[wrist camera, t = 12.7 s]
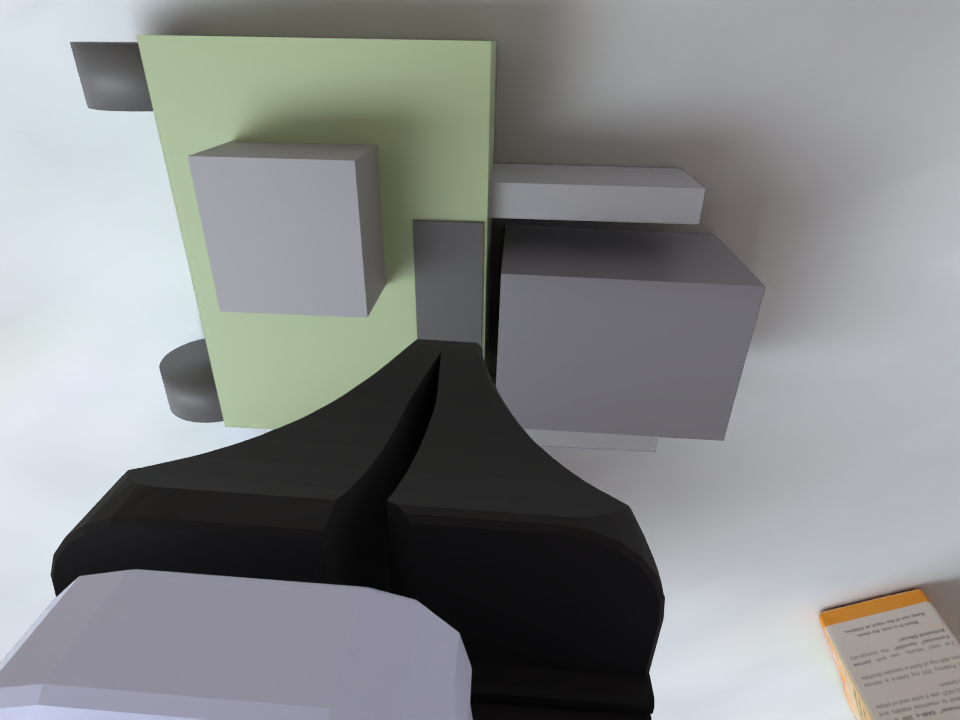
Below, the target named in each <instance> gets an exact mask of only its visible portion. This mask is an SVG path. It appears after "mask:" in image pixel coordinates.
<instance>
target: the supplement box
mask: <svg viewBox="0 0 960 720" xmlns="http://www.w3.org/2000/svg"><path fill="white" fill-rule="evenodd" d="M819 619H820V622H821V625H822V628H823V631H824V634H825V636H826V639H827V641H828V644H829V646H830V649H831V652H832V654H833V657H834V659H835V662H836V664H837V667H838V669H839V672H840V675H841V678H842V681H843V686H844V690H845V694H846V697H847V701H848V704H849V707H850V710H851V712H852V714H853V717H854V719H855V720H960V643H959V641H958V640H957V638H956V637H955V636H954V634H953V633H952V631H951V630H950V629H949V627H948V626H947V624H946V623H945V622H944V620H943V619H942V618H941V616H940V615H939V613H938V612H937V610H936V609H935V608H934V606H933V605H932V604H931V602H930V601H929V599H928V598H927V597H926V595H925V594H924V593H923V591H922V590H919V589H916V590H912V591H907V592H903V593H897V594H894V595H887V596H884V597H880V598H876V599H872V600H868V601H863V602H860V603H856V604H852V605H848V606H844V607H840V608H835V609H831V610H827V611H823V612H820V614H819Z"/></svg>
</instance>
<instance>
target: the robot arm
mask: <svg viewBox="0 0 960 720" xmlns="http://www.w3.org/2000/svg"><path fill="white" fill-rule="evenodd" d="M482 350H483V348H482V347H481V346H480V345H479V344H478V343H475V342H458V341H442V340H426V339H417V340H415V341H414V342H413V343H412V344H410V345H409V346H408V347H407V348H405V349H404V350H403V351H402V352H401V353H399V354H398V355H397V356H396V357H395V358H393V359H392V360H391V361H390V362H389V363H387V364H386V365H385V366H384V367H382V368H381V369H380V370H378V371H377V372H376V373H375V374H373V375H372V376H371V377H369V378H368V379H366V380H365V381H363V382H362V383H360V384H359V385H357V386H356V387H355V388H353V389H352V390H350V391H349V392H347V393H346V394H344V395H343V396H341V397H340V398H338V399H336V400H335V401H333V402H331V403H329V404H328V405H326V406H324V407H322V408H320V409H318V410H316V411H315V412H313V413H311V414H309V415H307V416H305V417H303V418H301V419H299V420H296V421H294V422H292V423H289V424H287V425H284V426H282V427H279V428H277V429H275V430H272V431H270V432H267V433H265V434H263V435H260V436H258V437H255V438H252V439H249V440H246V441H243V442H240V443H237V444H234V445H231V446H228V447H224V448H221V449H218V450H214V451H211V452H207V453H204V454H200V455H196V456H192V457H188V458H183V459H179V460H174V461H170V462H165V463H161V464H156V465H152V466H147V467H143V468H137V469H132V470H128V471H127V472H126V473H125V474H124V475H123V476H122V477H121V478H120V479H119V480H118V481H117V482H116V483H115V484H114V485H113V487H112V488H111V489H110V490H109V491H108V492H107V493H106V494H105V495H104V496H103V497H102V498H101V499H100V501H99V502H98V503H97V504H96V505H95V506H94V507H93V508H92V509H91V510H90V511H89V512H88V513H87V515H86V516H85V517H84V518H83V519H82V520H81V521H80V522H79V523H78V524H77V525H76V526H75V527H74V529H73V530H72V531H71V532H70V533H69V534H68V535H67V536H66V537H65V538H64V540H63V541H62V543H61V544H60V546H59V547H58V549H57V550H56V552H55V553H54V556H53V562H52V569H51V578H52V582H53V586H54V590H55V594H56V598H55V599H54V600H53V601H52V602H51V603H50V604H49V606H48V607H47V608H46V609H45V610H44V611H43V613H42V614H41V615H40V616H39V617H38V619H37V620H36V621H35V622H34V623H33V625H32V626H31V627H30V628H29V629H28V630H27V632H26V633H25V634H24V635H23V636H22V638H21V639H20V640H19V641H18V642H17V643H16V645H15V646H14V647H13V648H12V649H11V651H10V652H9V653H8V654H7V655H6V657H5V658H4V659H3V660H2V661H1V662H0V720H651V715H650V714H652V713H653V710H654V694H653V690H652V685H651V680H650V675H649V670H650V667H651V663H652V659H653V656H654V652H655V648H656V645H657V641H658V637H659V633H660V630H661V626H662V622H663V618H664V604H665V597H664V594H663V589H662V583H661V579H660V576H659V572H658V569H657V566H656V564H655V561H654V558H653V556H652V553H651V551H650V548H649V546H648V544H647V542H646V539H645V537H644V535H643V533H642V530H641V528H640V526H639V524H638V522H637V520H636V518H635V516H634V514H633V512H632V510H631V508H630V507H629V506H628V505H626V504H624V503H623V502H621V501H619V500H617V499H615V498H613V497H612V496H610V495H608V494H606V493H604V492H602V491H601V490H599V489H597V488H595V487H593V486H591V485H590V484H588V483H586V482H585V481H583V480H582V479H580V478H579V477H578V476H576V475H575V474H573V473H572V472H570V471H569V470H567V469H566V468H565V467H563V466H562V465H561V464H559V463H558V462H557V461H556V460H554V459H553V458H552V457H551V456H550V455H549V454H548V453H546V452H545V451H544V450H543V449H542V448H541V447H540V446H538V445H537V444H536V442H535V441H534V440H533V439H532V438H531V437H530V436H529V435H528V434H527V433H526V431H525V430H524V429H523V428H522V427H521V425H520V424H519V423H518V422H517V420H516V419H515V417H514V416H513V415H512V413H511V412H510V410H509V409H508V407H507V406H506V404H505V403H504V401H503V399H502V398H501V396H500V394H499V393H498V391H497V389H496V387H495V385H494V383H493V381H492V379H491V377H490V375H489V372H488V370H487V367H486V364H485V361H484V358H483V353H482Z"/></svg>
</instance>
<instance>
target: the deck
mask: <svg viewBox="0 0 960 720" xmlns="http://www.w3.org/2000/svg"><path fill="white" fill-rule="evenodd" d="M136 36H137V40H138V42H70V44H71V48H72V51H73V55H74V59H75V62H76V66H77V70H78V73H79V77H80V81H81V84H82V88H83V91H84V95H85V99H86V102H87V106H88V108H91V109H96V110H107V111H154V115H155V120H156V124H157V129H158V133H159V137H160V142H161V146H162V151H163V155H164V159H165V164H166V168H167V173H168V177H169V182H170V186H171V190H172V195H173V199H174V204H175V208H176V212H177V217H178V221H179V226H180V230H181V234H182V239H183V243H184V248H185V252H186V257H187V261H188V265H189V270H190V274H191V279H192V283H193V287H194V292H195V296H196V301H197V305H198V309H199V314H200V318H201V323H202V327H203V332H204V336H205V339H201V340H197V341H193V342H190V343H188V344H185V345H183V346H180V347H178V348H176V349H174V350H173V351H171V352H170V353H169V354H167V355H166V356H165V357H164V358H163V359H162V361H161V363H160V367H159V368H160V372H161V376H162V379H163V383H164V387H165V390H166V394H167V398H168V401H169V405H170V409H171V411H172V412H173V413H174V414H175V415H176V416H177V417H179V418H181V419H184V420H187V421H192V422H204V423H208V422H219V421H224V424H225V427H240V428H260V429H277V428H279V427H282V426H284V425H287V424H289V423H292V422H294V421H296V420H299V419H301V418H303V417H305V416H307V415H309V414H311V413H313V412H315V411H316V410H318V409H320V408H322V407H324V406H326V405H328V404H329V403H331V402H333V401H335V400H336V399H338V398H340V397H341V396H343V395H344V394H346V393H347V392H349V391H350V390H352V389H353V388H355V387H356V386H357V385H359V384H360V383H362V382H363V381H365V380H366V379H368V378H369V377H371V376H372V375H373V374H375V373H376V372H377V371H378V370H380V369H381V368H382V367H384V366H385V365H386V364H387V363H389V362H390V361H391V360H392V359H393V358H395V357H396V356H397V355H398V354H399V353H401V352H402V351H403V350H404V349H405V348H407V347H408V346H409V345H410V344H412V343H413V342H414V341H415V340H417V339H426V340H442V341H458V342H475V343H478V344H479V345H480V346H481V347H482V348H483V350H482V353H483V358H484V361H485V364H486V367H487V370H488V365H489V325H490V286H491V246H492V218H513V219H544V220H575V221H606V222H637V223H668V224H698V225H699V222H700V217H701V211H702V206H703V201H704V196H705V190H706V188H704V187H703V186H702V185H701V184H699V183H698V182H697V181H696V180H694V179H693V178H692V177H691V176H690V175H688V174H687V173H686V172H685V171H683V170H682V169H681V168H654V167H618V166H582V165H546V164H510V163H494V128H495V88H496V49H497V41H466V40H409V39H352V38H295V37H238V36H178V35H136ZM490 377H491V379H492V381H493V383H494V385H495V387H496V377H492V376H490ZM524 430H525V431H526V433H527V434H528V435H529V436H530V437H531V438H532V439H533V440H534V441H535V442H536V444H537V445H538V446H550V447H569V448H589V449H608V450H628V451H647V452H655V451H656V446H657V441H658V437H654V436H637V435H620V434H604V433H587V432H570V431H553V430H536V429H524Z"/></svg>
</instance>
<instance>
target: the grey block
mask: <svg viewBox="0 0 960 720" xmlns="http://www.w3.org/2000/svg"><path fill="white" fill-rule="evenodd" d="M764 289H765V286H764V285H763V284H762V283H761V282H760V281H759V280H758V279H757V278H756V277H755V276H754V275H753V274H752V273H751V272H750V271H749V270H748V269H747V268H746V267H745V265H744V264H743V263H742V262H741V261H740V260H739V259H738V258H737V257H736V256H735V255H734V254H733V253H732V252H731V251H730V250H729V249H728V248H727V247H726V246H725V245H724V244H723V243H722V242H721V241H720V240H719V239H718V238H717V237H716V236H715V235H714V234H701V233H679V232H657V231H634V230H612V229H590V228H568V227H545V226H523V225H506V227H505V238H504V248H503V259H502V270H501V287H500V308H499V329H498V351H497V372H496V389H497V391H498V393H499V394H500V396H501V398H502V399H503V401H504V403H505V404H506V406H507V407H508V409H509V410H510V412H511V413H512V415H513V416H514V417H515V419H516V420H517V422H518V423H519V424H520V425H521V427H522V428H523V429H536V430H553V431H570V432H587V433H604V434H620V435H637V436H654V437H671V438H688V439H705V440H722V441H723V440H724V437H725V433H726V429H727V426H728V422H729V418H730V415H731V411H732V407H733V403H734V400H735V396H736V392H737V389H738V385H739V381H740V378H741V374H742V370H743V367H744V363H745V359H746V356H747V352H748V348H749V345H750V341H751V337H752V333H753V330H754V326H755V322H756V319H757V315H758V311H759V308H760V304H761V300H762V297H763V293H764Z"/></svg>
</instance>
